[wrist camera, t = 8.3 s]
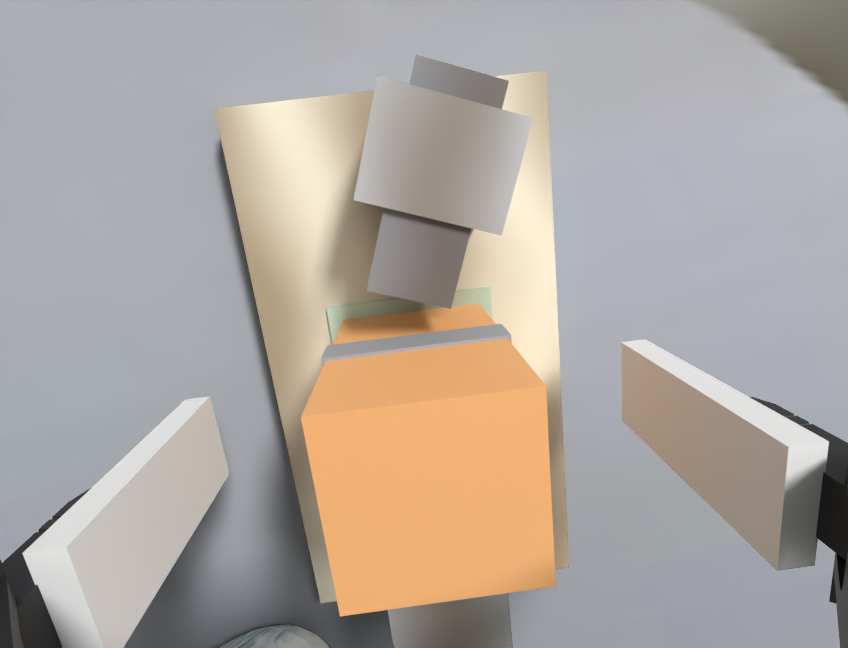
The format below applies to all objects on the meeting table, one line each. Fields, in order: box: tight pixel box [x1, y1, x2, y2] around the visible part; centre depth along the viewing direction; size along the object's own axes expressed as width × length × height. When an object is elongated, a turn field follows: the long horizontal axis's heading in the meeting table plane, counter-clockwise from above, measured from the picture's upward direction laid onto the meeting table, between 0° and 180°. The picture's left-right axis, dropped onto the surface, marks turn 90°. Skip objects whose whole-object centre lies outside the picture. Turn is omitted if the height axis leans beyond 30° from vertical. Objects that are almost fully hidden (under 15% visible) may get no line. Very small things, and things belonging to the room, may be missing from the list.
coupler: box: [301, 303, 556, 616], centre depth 14 cm, size 5×5×8 cm
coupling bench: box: [214, 55, 569, 648], centre depth 17 cm, size 11×20×6 cm, turn 7°
